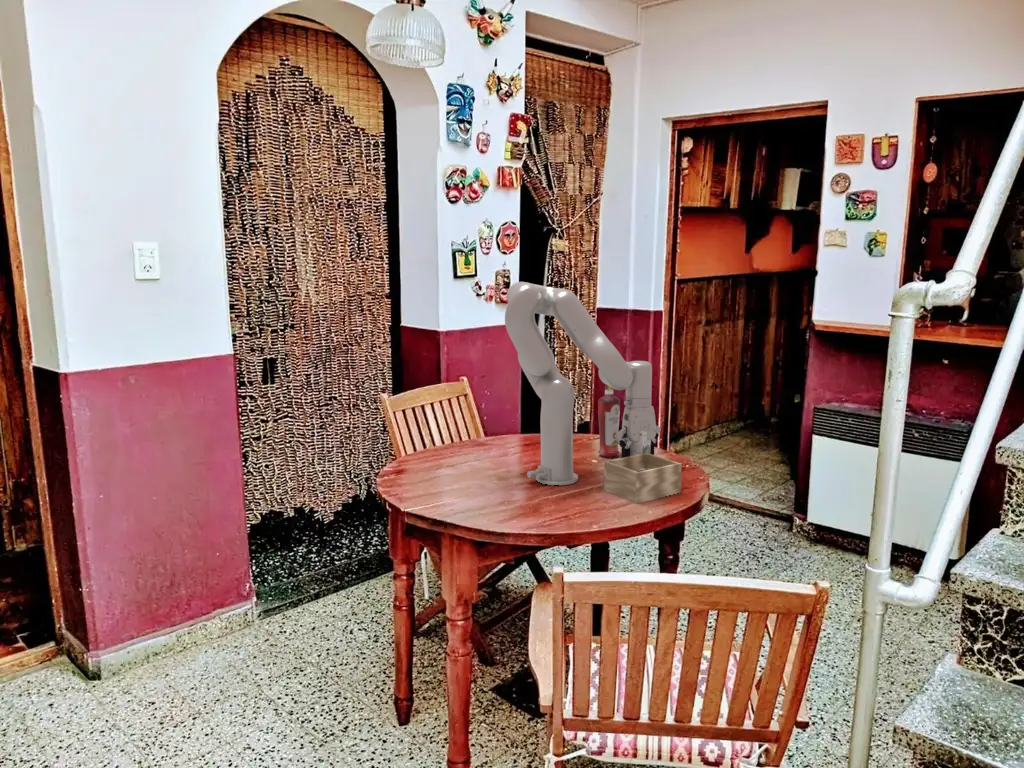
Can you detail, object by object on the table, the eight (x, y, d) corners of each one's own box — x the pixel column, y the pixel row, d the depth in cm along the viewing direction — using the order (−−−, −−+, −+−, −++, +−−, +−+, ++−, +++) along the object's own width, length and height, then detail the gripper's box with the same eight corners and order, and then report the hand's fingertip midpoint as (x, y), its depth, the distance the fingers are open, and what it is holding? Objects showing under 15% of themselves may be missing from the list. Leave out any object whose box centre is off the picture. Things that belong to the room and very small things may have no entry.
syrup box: (633, 471, 230) (633, 425, 228) (650, 474, 227) (651, 427, 224) (624, 475, 226) (625, 429, 223) (642, 478, 222) (643, 431, 220)
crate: (637, 503, 200) (638, 473, 199) (604, 490, 212) (604, 461, 210) (680, 492, 209) (681, 463, 207) (646, 480, 220) (646, 452, 219)
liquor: (610, 451, 253) (610, 370, 248) (624, 456, 247) (625, 373, 242) (593, 455, 249) (593, 372, 245) (607, 459, 243) (607, 375, 239)
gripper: (624, 408, 215) (624, 465, 218) (668, 401, 224) (667, 456, 227) (608, 403, 221) (607, 459, 224) (651, 397, 230) (650, 451, 233)
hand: (637, 457), depth 225 cm, fingers open, 9 cm apart
